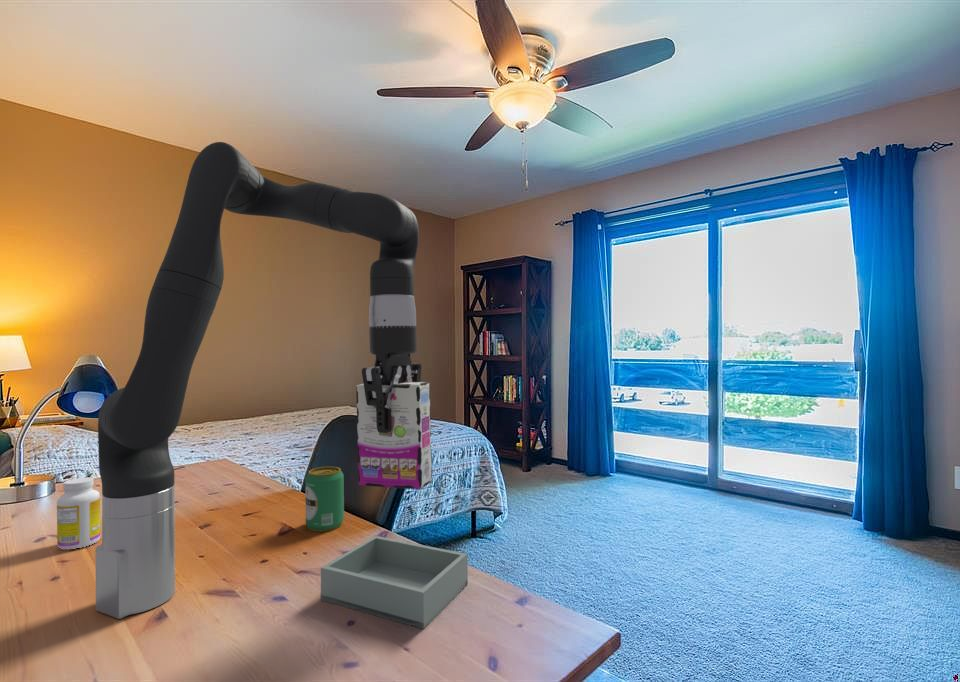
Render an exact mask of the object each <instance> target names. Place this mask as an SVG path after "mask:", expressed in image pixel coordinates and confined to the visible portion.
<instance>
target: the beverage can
mask: <svg viewBox="0 0 960 682" xmlns="http://www.w3.org/2000/svg"><path fill="white" fill-rule="evenodd" d="M344 475H345V474H344V473H343V471H342V469H341V468H340V467H338V466H321V467H319V466H318V467H315V468H312V469H310V470H308V472H307V475H306V476H305V480H304V481H305V483H304V484H305V525H306V526H307V529H308V530H310V531H312V532H328V531H333V530H335V529H338V528H340V527H341V526H342V525H341V524H343V522H344V520H345V493H344V492H345V490H344V489H345V487H344V486H345V485H344V484H345V483H344V480H345V479H344V478H345V477H344ZM339 526H340V527H339Z"/></svg>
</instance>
